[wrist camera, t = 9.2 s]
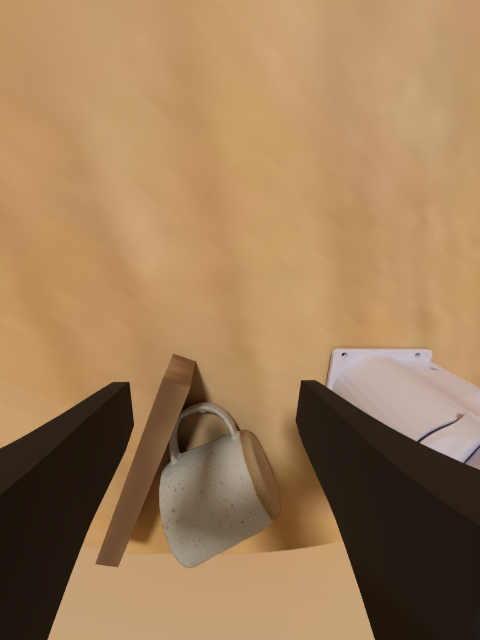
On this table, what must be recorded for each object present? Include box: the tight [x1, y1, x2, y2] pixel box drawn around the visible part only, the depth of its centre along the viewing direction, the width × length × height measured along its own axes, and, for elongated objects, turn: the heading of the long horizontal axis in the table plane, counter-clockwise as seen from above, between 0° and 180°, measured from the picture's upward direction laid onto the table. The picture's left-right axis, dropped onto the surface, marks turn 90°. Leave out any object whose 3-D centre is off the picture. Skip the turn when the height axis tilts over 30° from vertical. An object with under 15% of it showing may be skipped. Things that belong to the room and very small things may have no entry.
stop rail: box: [96, 354, 196, 567], centre depth 21 cm, size 2×20×4 cm, turn 158°
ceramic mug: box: [159, 402, 281, 568], centre depth 20 cm, size 11×8×8 cm
